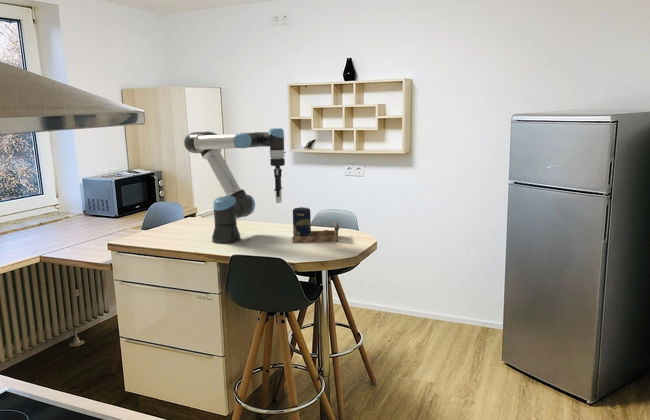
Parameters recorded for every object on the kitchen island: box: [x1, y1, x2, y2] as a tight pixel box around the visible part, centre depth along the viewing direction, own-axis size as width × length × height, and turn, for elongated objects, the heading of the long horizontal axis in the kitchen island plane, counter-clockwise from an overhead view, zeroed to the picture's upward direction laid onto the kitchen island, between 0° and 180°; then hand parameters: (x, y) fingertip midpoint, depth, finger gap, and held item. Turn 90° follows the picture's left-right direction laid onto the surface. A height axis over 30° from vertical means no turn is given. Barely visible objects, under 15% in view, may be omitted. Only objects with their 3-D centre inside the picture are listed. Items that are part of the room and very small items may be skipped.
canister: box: [292, 206, 312, 237], centre depth 281 cm, size 10×10×18 cm
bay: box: [291, 220, 340, 244], centre depth 282 cm, size 25×15×8 cm, turn 92°
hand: (278, 201), depth 278 cm, fingers open, 5 cm apart
